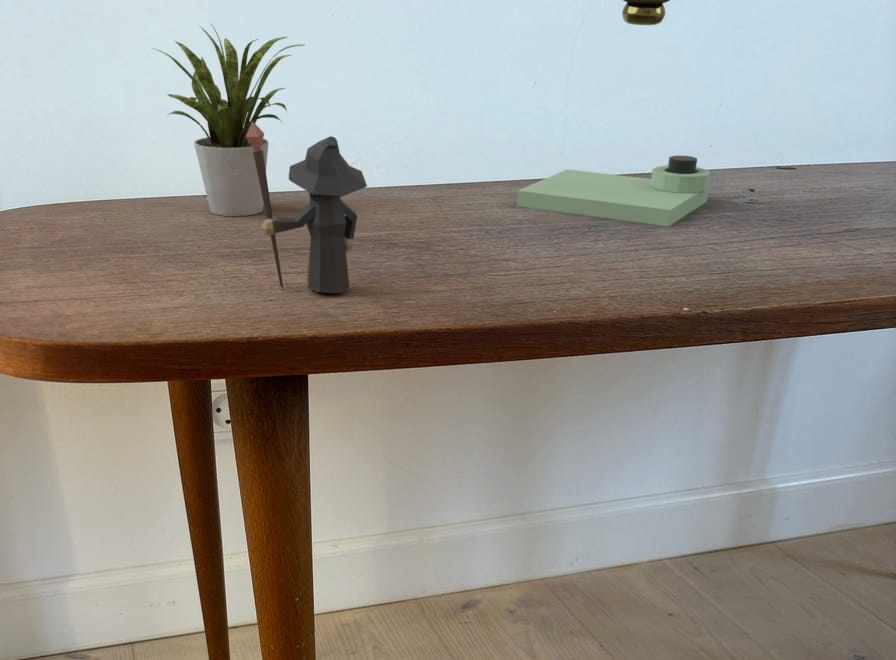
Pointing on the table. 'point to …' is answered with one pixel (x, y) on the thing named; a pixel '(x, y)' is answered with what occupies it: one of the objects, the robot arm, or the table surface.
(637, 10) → the cup
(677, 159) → the button
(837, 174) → the table surface
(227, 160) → the house plant
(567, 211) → the scale
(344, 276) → the wizard figurine
